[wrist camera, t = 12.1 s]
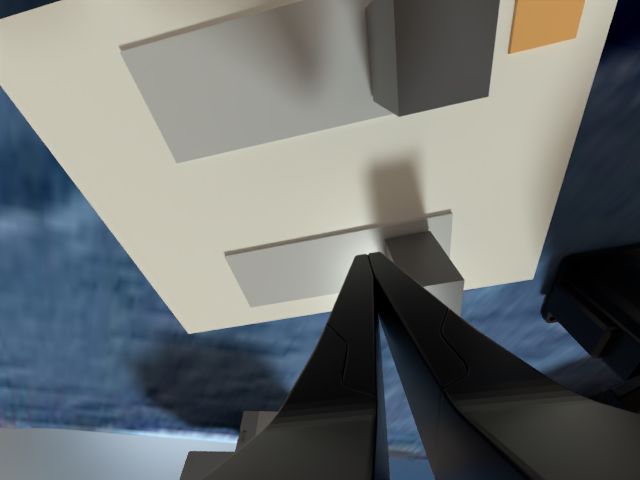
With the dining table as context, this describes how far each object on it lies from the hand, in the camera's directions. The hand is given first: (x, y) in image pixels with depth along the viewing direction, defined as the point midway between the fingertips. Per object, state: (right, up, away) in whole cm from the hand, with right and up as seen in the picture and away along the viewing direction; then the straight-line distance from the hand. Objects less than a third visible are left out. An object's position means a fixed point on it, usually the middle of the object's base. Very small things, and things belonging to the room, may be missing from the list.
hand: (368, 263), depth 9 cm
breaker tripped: (+2, +8, +1) cm, 8 cm away
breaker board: (-2, +4, +6) cm, 7 cm away
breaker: (+3, 0, +6) cm, 7 cm away
